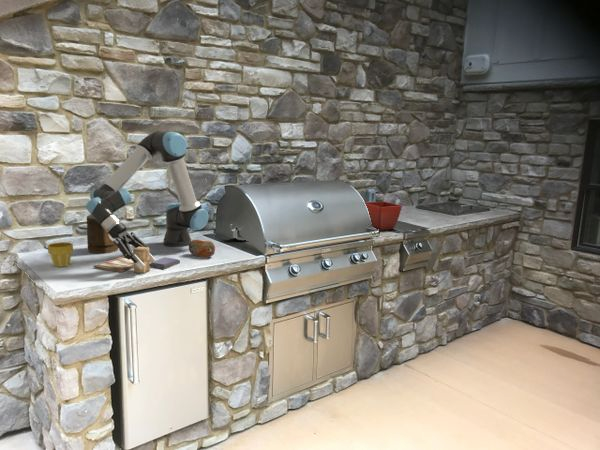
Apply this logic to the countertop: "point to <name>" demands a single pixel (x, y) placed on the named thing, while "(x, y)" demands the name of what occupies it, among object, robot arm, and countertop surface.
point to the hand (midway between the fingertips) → (148, 264)
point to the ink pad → (164, 263)
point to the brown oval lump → (202, 248)
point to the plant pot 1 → (60, 253)
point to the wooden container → (99, 238)
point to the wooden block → (142, 259)
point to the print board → (116, 265)
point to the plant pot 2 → (383, 214)
